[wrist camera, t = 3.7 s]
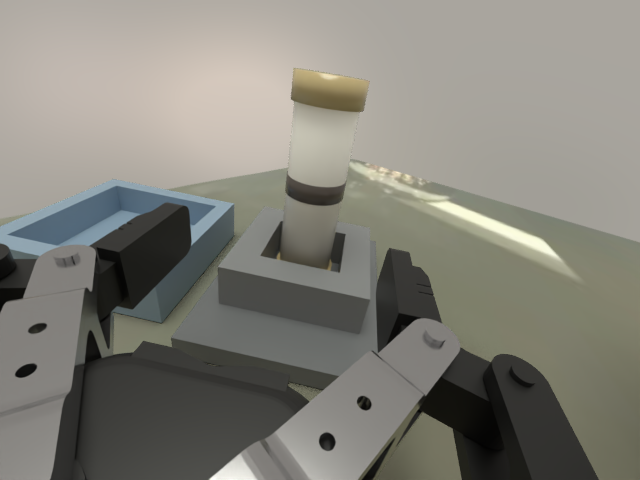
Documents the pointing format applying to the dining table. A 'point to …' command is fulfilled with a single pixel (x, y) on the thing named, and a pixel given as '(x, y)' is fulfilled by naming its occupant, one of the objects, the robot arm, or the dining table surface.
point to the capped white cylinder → (318, 163)
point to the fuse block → (287, 307)
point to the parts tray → (112, 212)
